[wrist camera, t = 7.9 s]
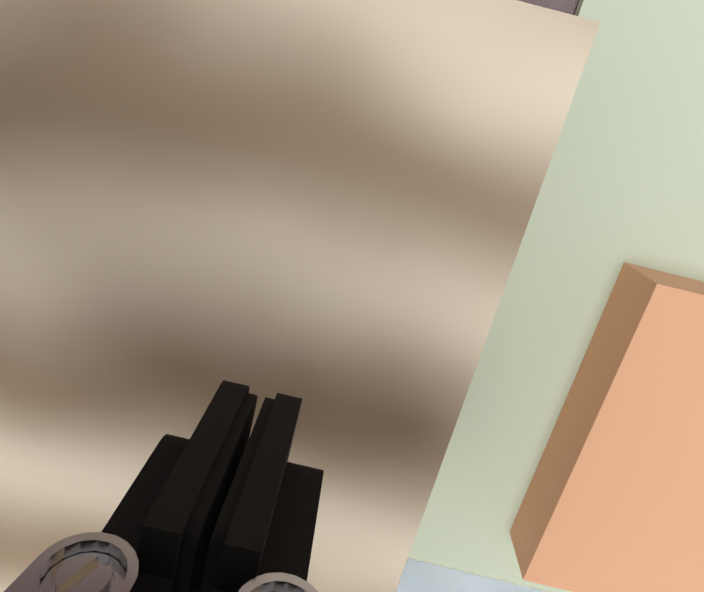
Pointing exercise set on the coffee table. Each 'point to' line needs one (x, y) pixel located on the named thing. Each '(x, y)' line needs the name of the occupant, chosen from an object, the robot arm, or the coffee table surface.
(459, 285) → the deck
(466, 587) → the coffee table surface
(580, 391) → the tile
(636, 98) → the mat
